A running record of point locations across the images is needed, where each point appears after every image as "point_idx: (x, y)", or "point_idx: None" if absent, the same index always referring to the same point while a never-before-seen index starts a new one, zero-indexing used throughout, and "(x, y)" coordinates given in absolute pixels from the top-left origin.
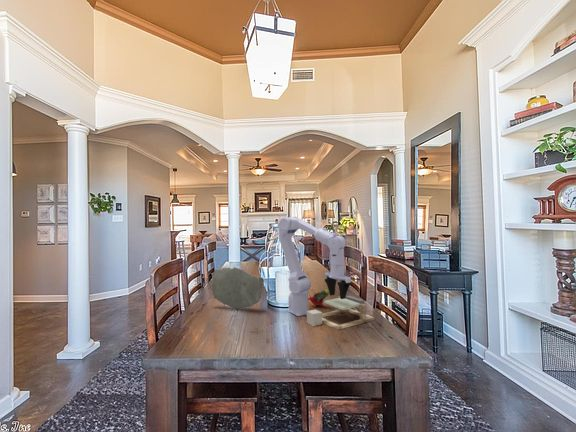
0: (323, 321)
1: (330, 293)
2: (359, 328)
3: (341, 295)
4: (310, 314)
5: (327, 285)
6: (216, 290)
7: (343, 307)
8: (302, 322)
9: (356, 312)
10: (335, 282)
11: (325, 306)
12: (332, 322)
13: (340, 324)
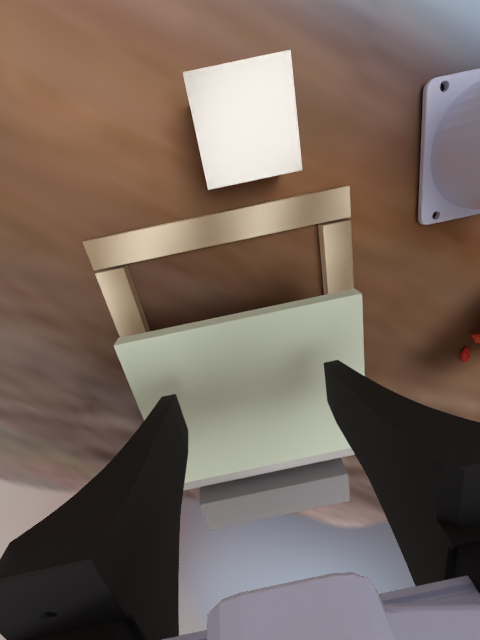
0: (228, 210)
1: (330, 370)
2: (84, 358)
3: (145, 421)
4: (226, 68)
5: (417, 407)
6: None
7: (123, 356)
8: (297, 58)
9: None
10: (397, 535)
11: (466, 350)
12: (174, 250)
13: (125, 280)
